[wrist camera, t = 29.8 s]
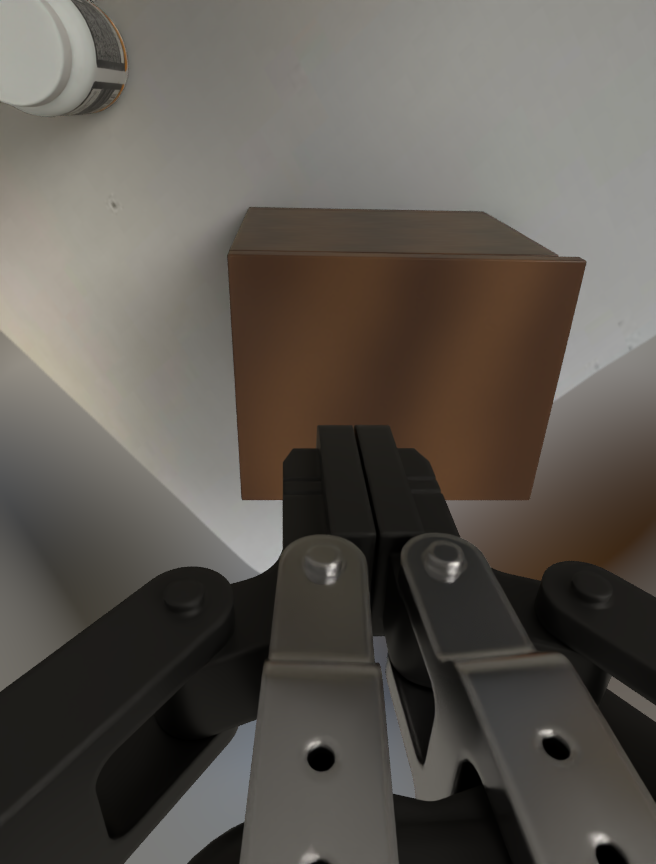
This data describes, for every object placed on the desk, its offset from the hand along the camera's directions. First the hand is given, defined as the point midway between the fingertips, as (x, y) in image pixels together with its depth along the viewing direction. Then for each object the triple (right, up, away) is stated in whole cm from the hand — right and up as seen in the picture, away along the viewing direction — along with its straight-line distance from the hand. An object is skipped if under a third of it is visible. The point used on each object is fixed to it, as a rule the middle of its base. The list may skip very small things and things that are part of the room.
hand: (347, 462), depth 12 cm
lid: (+3, +3, +18) cm, 19 cm away
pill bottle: (-15, +22, +21) cm, 34 cm away
